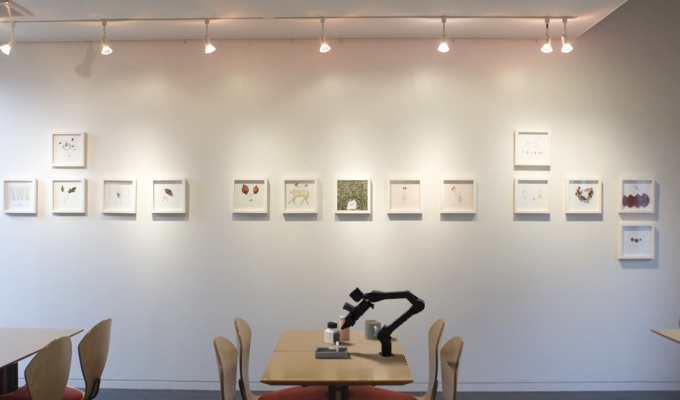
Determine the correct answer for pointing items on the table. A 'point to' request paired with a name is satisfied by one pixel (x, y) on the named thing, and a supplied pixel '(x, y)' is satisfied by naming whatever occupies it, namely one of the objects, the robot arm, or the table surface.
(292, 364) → the table surface
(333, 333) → the medicine bottle
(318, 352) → the tray
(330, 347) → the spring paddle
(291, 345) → the table surface
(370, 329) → the coffee mug
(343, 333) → the dome-lidded peach canister
